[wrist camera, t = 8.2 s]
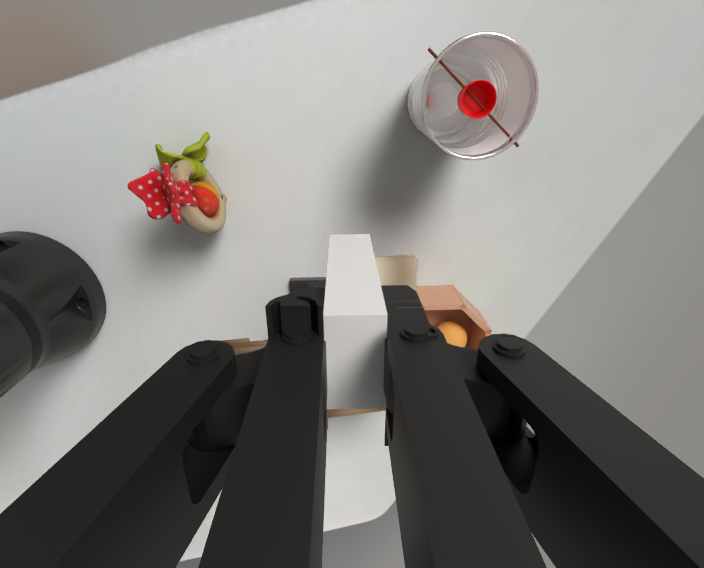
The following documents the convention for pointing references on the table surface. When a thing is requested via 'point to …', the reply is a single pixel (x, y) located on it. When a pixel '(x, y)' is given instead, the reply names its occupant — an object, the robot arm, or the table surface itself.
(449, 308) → the terracotta octagonal bowl
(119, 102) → the table surface
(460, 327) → the ball
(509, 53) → the white ridged hollow cylinder
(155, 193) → the bird rattle
